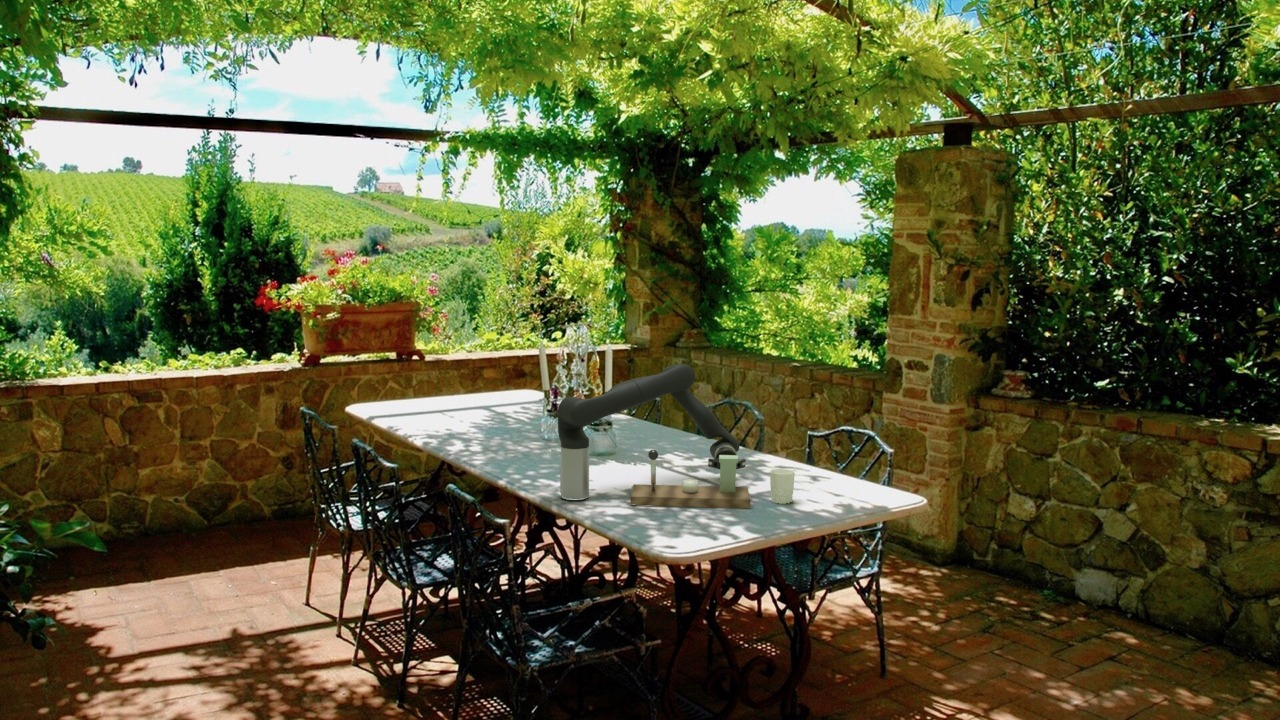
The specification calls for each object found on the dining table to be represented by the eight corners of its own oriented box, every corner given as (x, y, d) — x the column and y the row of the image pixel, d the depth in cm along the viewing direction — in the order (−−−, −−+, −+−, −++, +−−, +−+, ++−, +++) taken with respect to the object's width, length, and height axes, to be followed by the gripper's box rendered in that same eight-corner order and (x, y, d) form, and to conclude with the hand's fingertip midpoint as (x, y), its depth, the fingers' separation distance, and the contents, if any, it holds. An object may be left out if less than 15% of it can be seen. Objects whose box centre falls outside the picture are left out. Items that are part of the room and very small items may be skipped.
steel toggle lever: (648, 492, 313) (647, 453, 305) (648, 486, 316) (648, 447, 307) (658, 492, 313) (658, 454, 304) (658, 486, 315) (658, 447, 307)
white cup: (796, 500, 317) (797, 470, 315) (790, 505, 309) (790, 475, 308) (773, 497, 320) (774, 467, 319) (766, 502, 313) (767, 472, 312)
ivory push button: (682, 492, 311) (682, 482, 311) (682, 488, 316) (682, 479, 316) (698, 492, 311) (698, 483, 311) (698, 489, 316) (698, 479, 316)
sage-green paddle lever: (718, 492, 312) (719, 458, 306) (717, 489, 314) (719, 454, 308) (736, 493, 312) (738, 458, 305) (736, 489, 314) (738, 455, 307)
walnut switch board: (630, 505, 307) (630, 496, 307) (633, 493, 323) (633, 484, 323) (750, 508, 305) (750, 499, 305) (747, 495, 321) (747, 487, 321)
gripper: (706, 446, 327) (707, 456, 309) (745, 447, 326) (748, 457, 309) (706, 468, 328) (707, 479, 310) (745, 468, 327) (748, 480, 310)
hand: (727, 468), depth 310 cm, fingers closed
